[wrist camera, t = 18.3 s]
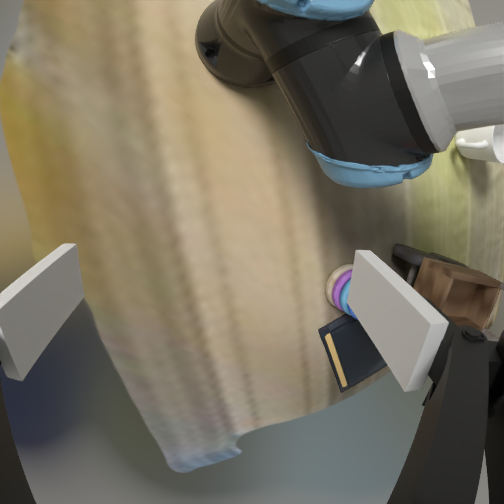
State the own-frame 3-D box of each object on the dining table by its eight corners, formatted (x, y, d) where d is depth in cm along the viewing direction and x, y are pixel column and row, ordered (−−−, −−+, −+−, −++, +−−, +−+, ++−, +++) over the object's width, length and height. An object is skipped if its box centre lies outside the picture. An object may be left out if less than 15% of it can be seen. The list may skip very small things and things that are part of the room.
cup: (477, 154, 53) (513, 160, 44) (446, 164, 51) (485, 171, 42) (472, 117, 50) (509, 118, 41) (439, 122, 48) (479, 123, 39)
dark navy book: (399, 362, 62) (341, 397, 61) (394, 358, 64) (337, 392, 62) (390, 291, 55) (320, 331, 53) (384, 287, 56) (315, 326, 55)
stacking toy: (355, 306, 55) (419, 362, 38) (318, 303, 53) (378, 367, 35) (369, 265, 53) (442, 312, 36) (331, 259, 51) (402, 310, 33)
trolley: (386, 239, 52) (507, 301, 28) (448, 256, 58) (546, 306, 33) (369, 292, 55) (473, 374, 30) (432, 299, 61) (522, 360, 36)
